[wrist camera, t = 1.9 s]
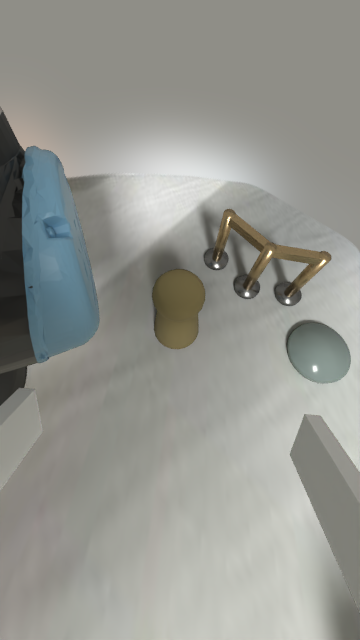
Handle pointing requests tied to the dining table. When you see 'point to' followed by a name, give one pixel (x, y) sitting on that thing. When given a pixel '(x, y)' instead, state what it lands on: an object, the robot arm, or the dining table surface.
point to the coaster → (318, 353)
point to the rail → (264, 260)
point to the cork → (177, 307)
